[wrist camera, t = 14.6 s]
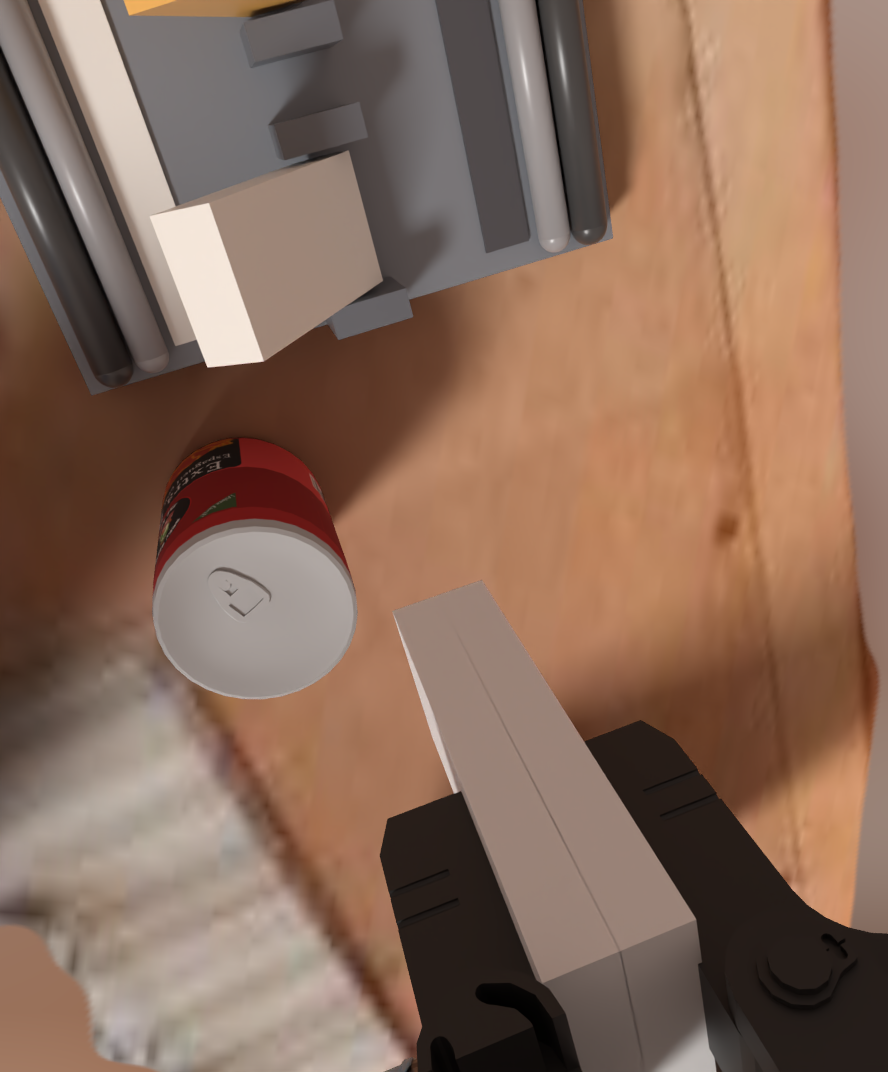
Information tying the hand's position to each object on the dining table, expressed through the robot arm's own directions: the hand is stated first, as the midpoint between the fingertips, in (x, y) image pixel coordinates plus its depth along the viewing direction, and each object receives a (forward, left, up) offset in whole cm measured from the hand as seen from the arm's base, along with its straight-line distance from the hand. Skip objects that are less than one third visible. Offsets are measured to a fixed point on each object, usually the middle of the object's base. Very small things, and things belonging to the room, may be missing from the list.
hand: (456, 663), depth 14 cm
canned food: (-8, +5, -29) cm, 30 cm away
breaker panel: (+9, -3, -28) cm, 30 cm away
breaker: (+4, -3, -25) cm, 25 cm away
